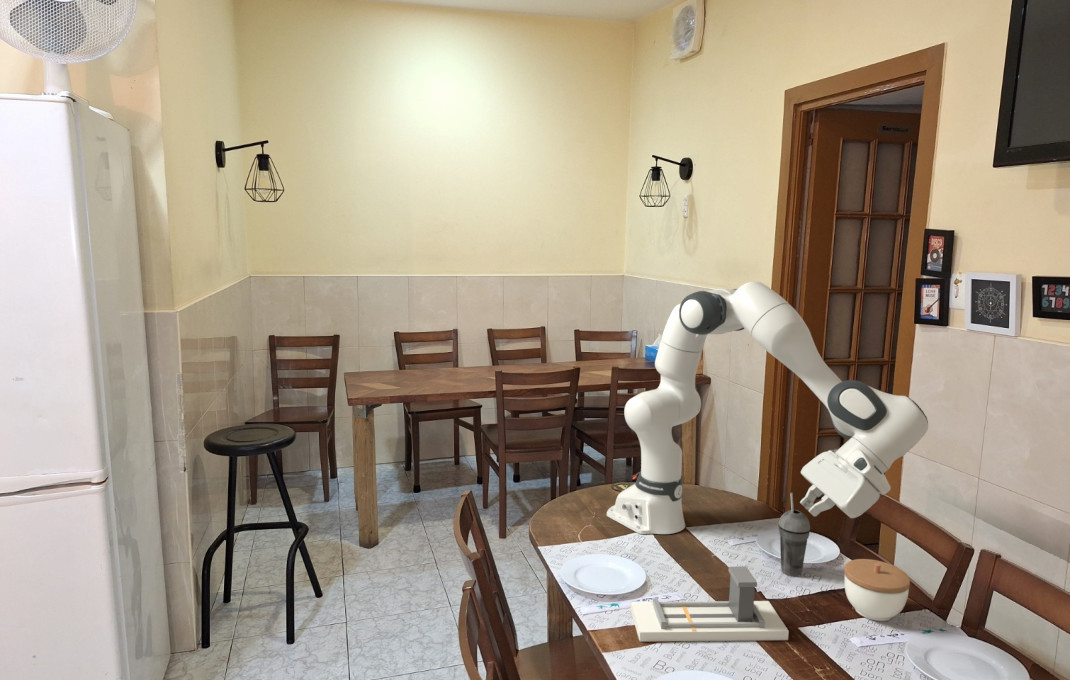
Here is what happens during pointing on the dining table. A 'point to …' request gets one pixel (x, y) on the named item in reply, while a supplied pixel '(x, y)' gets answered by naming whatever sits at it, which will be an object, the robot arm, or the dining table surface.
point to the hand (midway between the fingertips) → (806, 509)
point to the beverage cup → (793, 540)
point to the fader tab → (741, 593)
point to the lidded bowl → (876, 588)
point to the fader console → (704, 622)
